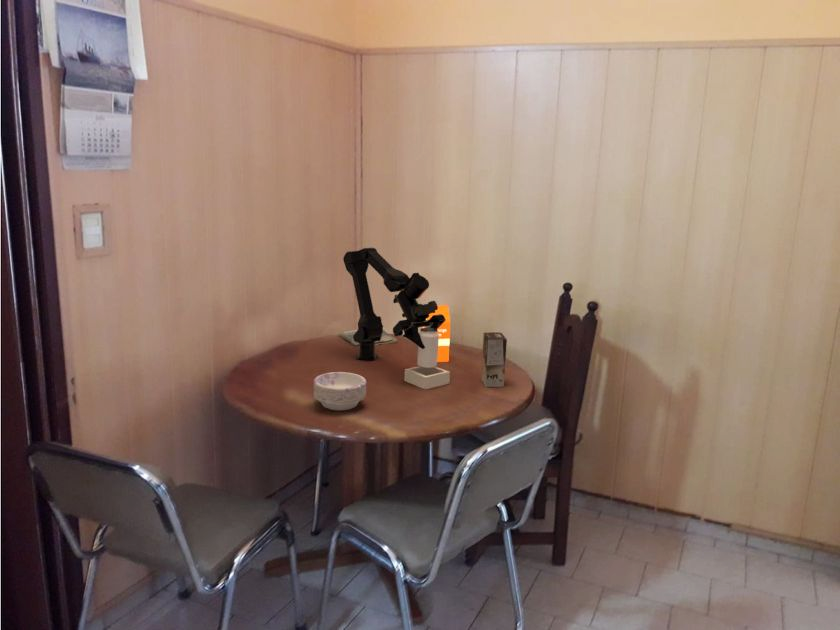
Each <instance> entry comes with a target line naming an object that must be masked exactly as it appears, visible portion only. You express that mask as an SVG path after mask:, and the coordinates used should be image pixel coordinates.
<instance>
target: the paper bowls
mask: <svg viewBox="0 0 840 630" xmlns="http://www.w3.org/2000/svg"><path fill="white" fill-rule="evenodd" d="M366 396H367V379H366V378H365V377H364V376H362V375H360V374H356V373H353V372H349V371H348V372H345V371H335V372H334V371H332V372H326V373H322V374H320V375H317V376H316V377H315V378H314V379H313V397H314V399H315V400H317V401H318V402H320V403H321V406H323V407H324V408H325V409H328V410H331V411H339V412H342V411H347V410H352V409H354V408H356V407H357V406H358V404H359V402H361V401H363V400H364V399H365V398H366Z"/></svg>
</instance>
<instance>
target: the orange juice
mask: <svg viewBox="0 0 840 630" xmlns="http://www.w3.org/2000/svg"><path fill="white" fill-rule="evenodd" d="M437 306H438V310H435V313H431V314H429V317H428V318H426V320H429V319H430V318H431V317H432V316H433V315H438V314H442V315H444V317H445V319H446V321H445V322H444V323H443V324H442V325H441V326H440V327H439V328H438V329H437V330H438V331H437V332H438V334H439V340H438V359H437V363H445V362H449V359H450V358H449V357H450V342H451V340H450V339H451V338H450V337H451V318H450V311H449V305H448V304H442V305H440V304H439V305H438V304H437ZM421 328H426V327H420V329H421Z"/></svg>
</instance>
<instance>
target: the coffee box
mask: <svg viewBox="0 0 840 630" xmlns="http://www.w3.org/2000/svg"><path fill="white" fill-rule="evenodd" d="M482 335H483V338H482V356H481V374H480V379H481V382H482V383H483V385H484V387H486V388H497V387H498V388H504V386H505V385H504V384H505V374H506V359H507V358H506V356H507V346H508V345H507V343H508V341H507V338H506V337H505V335H504V334H503V333H502V332H494V331H491V332H483V334H482Z"/></svg>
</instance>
